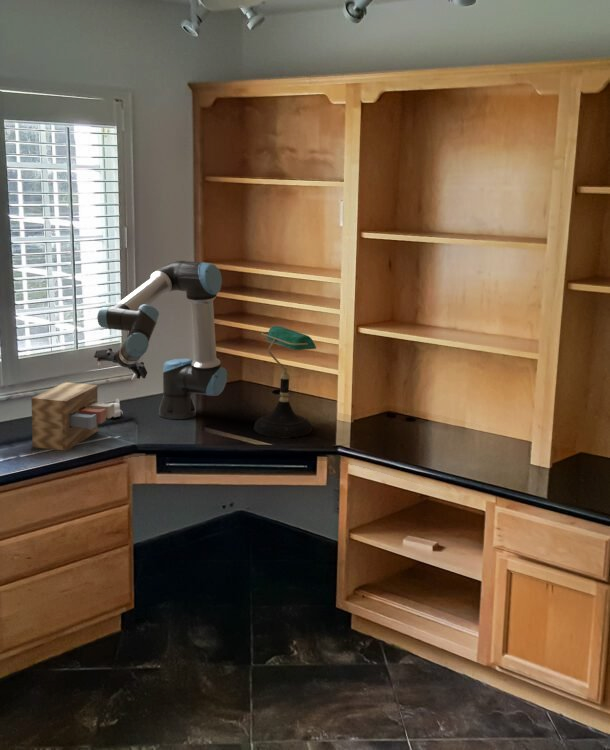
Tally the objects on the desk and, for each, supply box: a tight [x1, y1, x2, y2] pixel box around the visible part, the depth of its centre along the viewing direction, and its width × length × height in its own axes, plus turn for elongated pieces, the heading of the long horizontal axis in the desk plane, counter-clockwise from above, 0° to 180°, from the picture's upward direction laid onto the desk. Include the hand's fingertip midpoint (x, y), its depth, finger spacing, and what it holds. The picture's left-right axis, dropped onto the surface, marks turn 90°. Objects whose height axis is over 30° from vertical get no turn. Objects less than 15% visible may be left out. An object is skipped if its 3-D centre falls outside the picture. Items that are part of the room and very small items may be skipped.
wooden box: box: [31, 381, 99, 452], centre depth 321 cm, size 13×26×18 cm, turn 169°
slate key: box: [69, 413, 96, 429], centre depth 311 cm, size 12×4×4 cm, turn 79°
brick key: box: [79, 408, 107, 424], centre depth 319 cm, size 12×4×4 cm, turn 79°
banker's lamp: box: [253, 325, 317, 439], centre depth 343 cm, size 26×23×40 cm
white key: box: [89, 402, 114, 419], centre depth 327 cm, size 12×4×4 cm, turn 79°
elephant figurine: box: [101, 398, 124, 420], centre depth 353 cm, size 8×10×7 cm
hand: (116, 370), depth 331 cm, fingers open, 13 cm apart
